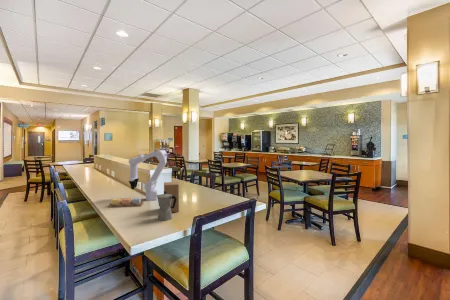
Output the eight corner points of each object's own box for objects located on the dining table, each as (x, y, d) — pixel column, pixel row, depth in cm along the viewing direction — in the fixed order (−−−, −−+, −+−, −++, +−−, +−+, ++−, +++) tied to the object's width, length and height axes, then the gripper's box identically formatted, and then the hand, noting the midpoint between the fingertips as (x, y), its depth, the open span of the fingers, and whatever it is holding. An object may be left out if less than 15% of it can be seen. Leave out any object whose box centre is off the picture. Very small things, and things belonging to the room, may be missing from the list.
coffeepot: (152, 219, 144) (151, 191, 143) (161, 214, 153) (160, 188, 152) (172, 222, 139) (172, 194, 138) (180, 217, 147) (180, 190, 146)
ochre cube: (120, 204, 173) (120, 198, 173) (118, 206, 168) (118, 199, 168) (114, 204, 173) (113, 198, 172) (111, 206, 168) (111, 200, 168)
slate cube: (140, 203, 176) (140, 197, 175) (139, 205, 171) (139, 199, 170) (134, 204, 175) (134, 197, 175) (132, 206, 170) (132, 199, 170)
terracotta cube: (124, 204, 174) (123, 198, 174) (130, 204, 174) (130, 197, 174) (122, 206, 169) (121, 199, 169) (128, 206, 170) (128, 199, 169)
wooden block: (164, 213, 156) (164, 185, 155) (164, 209, 165) (163, 182, 164) (178, 212, 158) (178, 184, 157) (178, 208, 168) (177, 181, 167)
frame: (143, 204, 177) (143, 200, 177) (141, 207, 169) (140, 203, 169) (112, 205, 174) (112, 202, 174) (108, 208, 166) (108, 205, 166)
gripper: (131, 171, 196) (131, 186, 197) (126, 173, 182) (126, 190, 182) (139, 170, 197) (139, 186, 198) (135, 173, 183) (135, 189, 183)
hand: (134, 188), depth 190 cm, fingers open, 7 cm apart
